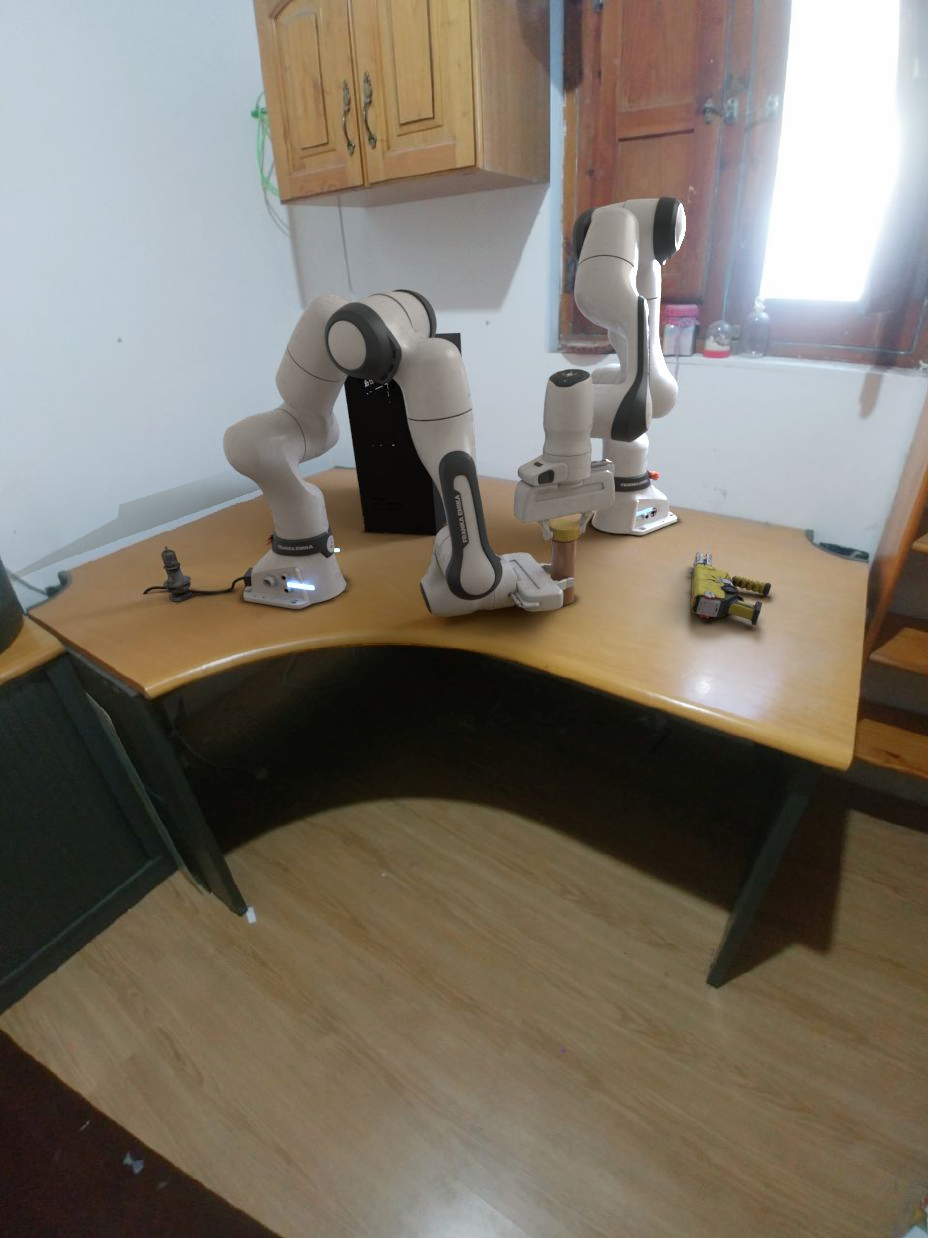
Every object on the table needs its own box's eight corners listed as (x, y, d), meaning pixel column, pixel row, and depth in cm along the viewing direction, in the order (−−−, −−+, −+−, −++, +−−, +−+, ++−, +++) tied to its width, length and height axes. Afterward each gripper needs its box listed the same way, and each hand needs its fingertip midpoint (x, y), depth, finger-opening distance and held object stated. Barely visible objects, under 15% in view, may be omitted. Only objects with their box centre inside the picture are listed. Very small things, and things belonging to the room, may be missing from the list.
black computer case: (436, 534, 159) (422, 349, 137) (364, 531, 164) (339, 351, 141) (468, 489, 191) (460, 332, 168) (407, 487, 195) (391, 335, 173)
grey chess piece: (185, 602, 132) (169, 552, 126) (162, 601, 134) (144, 551, 128) (200, 590, 137) (185, 541, 131) (177, 588, 139) (162, 540, 133)
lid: (545, 539, 117) (545, 528, 116) (553, 529, 121) (553, 518, 120) (575, 542, 115) (575, 531, 114) (581, 531, 119) (582, 520, 118)
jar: (575, 595, 126) (578, 524, 119) (571, 606, 122) (574, 533, 115) (552, 592, 128) (554, 522, 120) (547, 603, 124) (549, 531, 116)
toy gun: (769, 561, 128) (696, 549, 132) (782, 610, 108) (695, 594, 112) (763, 581, 130) (691, 569, 134) (774, 633, 110) (689, 616, 114)
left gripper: (519, 594, 110) (589, 582, 112) (487, 551, 127) (548, 542, 130) (519, 624, 113) (587, 611, 115) (488, 578, 130) (548, 568, 133)
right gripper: (605, 453, 117) (601, 521, 124) (509, 469, 111) (510, 539, 118) (624, 461, 112) (618, 531, 118) (524, 478, 106) (524, 551, 113)
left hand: (566, 574), depth 123 cm, fingers closed on jar, 5 cm apart
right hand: (564, 535), depth 118 cm, fingers closed on lid, 6 cm apart
